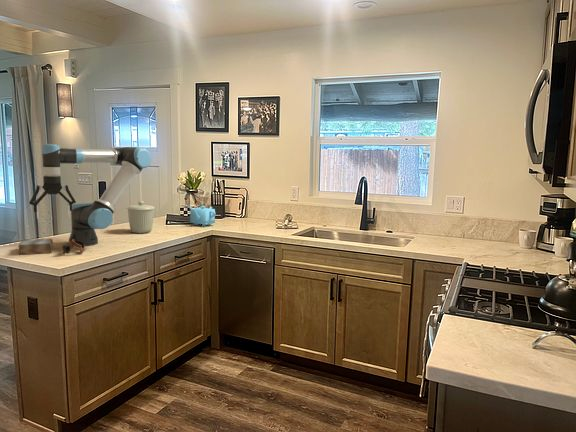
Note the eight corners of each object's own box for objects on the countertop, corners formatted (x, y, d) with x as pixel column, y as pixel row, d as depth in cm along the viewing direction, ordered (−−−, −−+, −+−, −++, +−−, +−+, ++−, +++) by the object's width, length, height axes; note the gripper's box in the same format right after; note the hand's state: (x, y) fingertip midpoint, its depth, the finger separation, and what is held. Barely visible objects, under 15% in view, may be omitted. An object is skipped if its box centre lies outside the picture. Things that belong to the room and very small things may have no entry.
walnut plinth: (52, 247, 227) (52, 238, 226) (51, 253, 215) (51, 243, 214) (22, 248, 221) (21, 239, 220) (18, 254, 209) (18, 245, 208)
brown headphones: (68, 251, 222) (77, 238, 222) (82, 261, 220) (90, 247, 221) (53, 250, 210) (62, 236, 211) (67, 260, 209) (76, 246, 209)
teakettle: (216, 227, 314) (217, 207, 312) (191, 227, 307) (191, 207, 305) (211, 223, 331) (212, 204, 329) (187, 223, 324) (187, 204, 322)
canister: (127, 229, 287) (127, 199, 284) (155, 229, 293) (155, 199, 290) (126, 234, 270) (125, 202, 267) (155, 234, 276) (155, 202, 273)
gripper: (78, 175, 218) (79, 215, 222) (21, 174, 204) (24, 218, 208) (80, 176, 212) (82, 217, 215) (22, 175, 198) (24, 220, 201)
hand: (53, 217), depth 212 cm, fingers open, 13 cm apart
